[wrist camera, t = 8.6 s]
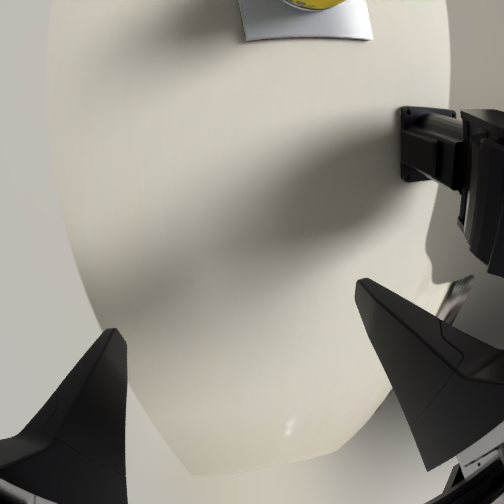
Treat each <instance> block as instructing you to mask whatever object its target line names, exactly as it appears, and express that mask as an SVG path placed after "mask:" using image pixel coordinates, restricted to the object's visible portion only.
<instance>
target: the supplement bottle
mask: <svg viewBox="0 0 504 504" xmlns="http://www.w3.org/2000/svg"><path fill="white" fill-rule="evenodd" d="M282 1H283V2H285V3H286V4H288V5H290V6H293V7H295V8H298V9H301V10H306V11H322V10H327V9H330V8H332V7H334V6H336V5H338V4H340V3H342V2H344V1H346V0H282Z"/></svg>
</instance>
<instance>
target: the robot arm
mask: <svg viewBox="0 0 504 504" xmlns="http://www.w3.org/2000/svg"><path fill="white" fill-rule="evenodd" d="M407 110H408V114H407V113H406V112H407ZM451 114H452V116H451ZM461 118H462V121H461V120H458V119H456V113H455V111H453V110H449V109H440V108H429V107H416V106H404V107H402V109H401V123H402V133H401V137H402V145H401V179H402V180H403V181H405V182H407V183H408V182H416V181H425V180H434V181H435V182H437V183H439V184H440V185H442V186H444V187H446V188H447V189H449V190H451V191H452V192H454V193H455V194H457V195H458V196H460V197H461V204H460V213H459V217H458V221H457V224H458V226H459V227H460V229H461V231H462V232H463V234H464V236H465V238H466V240H467V242H468V244H469V245H470V247H469V250H470V251H471V253H472V254H473V255H474V256H475V257H476V258H477V259H479V260H480V261H481V262H483V263H484V264H485V265H487V266H488V268H487V272H488V273H490V274H493V275H497V276H501V277H503V278H504V112H503V111H499V110H494V109H471V110H461ZM407 174H408V176H407V178H406V175H407ZM355 302H356V305H357V308H358V310H359V313H360V316H361V318H362V321H363V324H364V326H365V329H366V332H367V334H368V337H369V339H370V341H371V343H372V345H373V347H374V349H375V351H376V353H377V355H378V357H379V360H380V362H381V364H382V366H383V368H384V370H385V372H386V374H387V376H388V379H389V381H390V383H391V385H392V387H393V390H394V392H395V394H396V396H397V398H398V401H399V403H400V405H401V408H402V410H403V412H404V415H405V417H406V419H407V422H408V424H409V426H410V429H411V432H412V434H413V437H414V439H415V441H416V444H417V447H418V449H419V452H420V454H421V457H422V460H423V462H424V465H425V468H426V470H427V472H428V471H430V470H432V469H434V468H436V467H437V466H439V465H441V464H442V463H444V462H446V461H448V460H449V459H451V458H453V457H454V456H456V457H457V459H458V462H459V463H458V464H457V465H455V466H454V467H453V469H452V472H451V474H450V477H449V479H448V482H447V484H446V486H445V488H444V491H443V493H442V494H440V495H439V496H437V497H436V498H434V499H432V500H430V501H428V502H427V503H425V504H504V350H502V349H498V348H495V347H492V346H491V345H488V344H486V343H484V342H482V341H480V340H478V339H476V338H474V337H472V336H470V335H468V334H466V333H464V332H462V331H460V330H458V329H456V328H455V327H453V326H451V325H449V324H448V323H446V322H444V321H443V320H440V319H439V318H437V317H436V316H434V315H432V314H431V313H429V312H427V311H425V310H424V309H422V308H420V307H419V306H417V305H415V304H413V303H412V302H410V301H408V300H406V299H405V298H403V297H401V296H399V295H398V294H396V293H394V292H392V291H391V290H389V289H387V288H385V287H383V286H382V285H380V284H378V283H376V282H375V281H373V280H371V279H369V278H363V279H359V280H357V282H356V289H355ZM126 397H127V344H126V341H125V340H124V338H123V337H122V335H121V334H120V332H119V331H118V329H116V328H108V329H106V330H105V331H104V332H103V333H102V334H101V335H100V337H99V338H98V339H97V340H96V341H95V342H94V344H93V345H92V346H91V347H90V348H89V350H88V351H87V352H86V353H85V354H84V356H83V357H82V358H81V359H80V360H79V362H78V363H77V364H76V366H75V367H74V368H73V369H72V370H71V371H70V373H69V374H68V375H67V376H66V378H65V379H64V380H63V381H62V383H61V384H60V385H59V387H58V388H57V389H56V391H55V392H54V393H53V394H52V396H51V397H50V398H49V399H48V401H47V402H46V403H45V404H44V406H43V407H42V408H41V409H40V410H39V411H38V413H37V414H36V415H35V416H34V417H33V418H32V419H31V421H30V422H29V423H28V424H27V425H26V426H25V428H24V429H23V430H22V431H21V432H20V433H19V434H17V435H16V436H14V437H11V438H7V439H2V440H0V504H128V500H127V486H126V466H125V421H126V419H125V418H126Z"/></svg>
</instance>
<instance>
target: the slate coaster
mask: <svg viewBox="0 0 504 504" xmlns="http://www.w3.org/2000/svg"><path fill="white" fill-rule="evenodd" d="M238 2H239V7H240V12H241V17H242V22H243V27H244V33H245V38H246V41H252V40H261V39H274V38H294V37H329V38H348V39H360V40H373V36H372V30H371V25H370V20H369V15H368V10H367V5H366V1H365V0H346V1H344V2H342V3H340V4H338V5H336V6H334V7H332V8H330V9H327V10H322V11H306V10H301V9H298V8H295V7H293V6H290V5H288V4H286V3H285V2H283V1H282V0H238Z"/></svg>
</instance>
